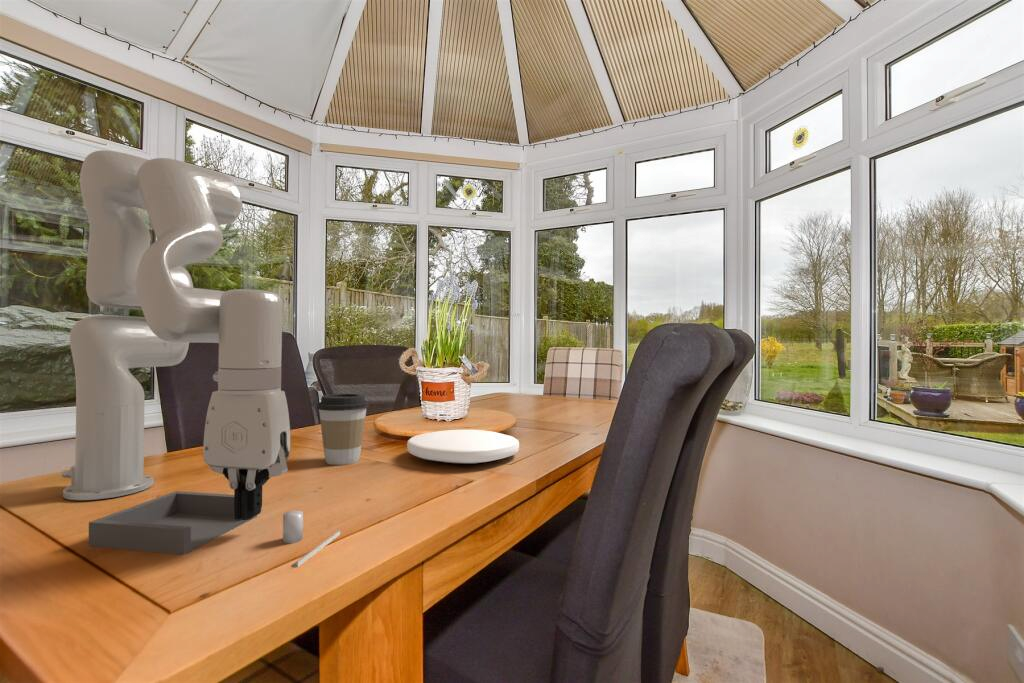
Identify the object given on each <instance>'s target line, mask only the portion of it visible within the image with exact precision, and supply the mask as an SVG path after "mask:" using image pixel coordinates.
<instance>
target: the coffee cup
mask: <svg viewBox="0 0 1024 683" xmlns="http://www.w3.org/2000/svg"><path fill="white" fill-rule="evenodd" d="M316 406H317V407H316V409H317V410H318V413H319V420H320V427H321V428H320V430H321V436H322V446H323V447H322V448H323V455H324V460H325V463H326V464H327V465H332V466H346V465H353V464H355V463H358V462H359V458H360V457H361V450H362V442H363V435H364V429H365V422H366V415H367V408H370V405H369V402H368V400H366V396H365V395H364V394H361V393H360V394H359V393H336V394H335V393H334V394H324V395H322V396H321V399H320V401H319V402H318V403H317V404H316Z"/></svg>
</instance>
